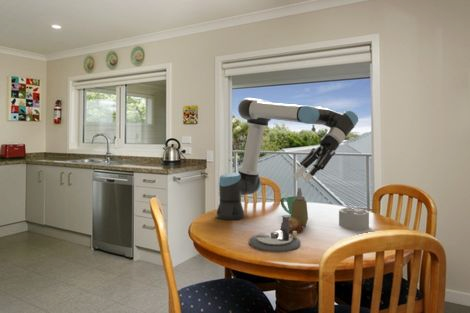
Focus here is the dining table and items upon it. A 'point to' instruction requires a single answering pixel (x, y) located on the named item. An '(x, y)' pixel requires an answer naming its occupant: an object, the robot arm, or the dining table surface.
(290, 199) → the mug
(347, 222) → the lumpy-topped squat cylinder
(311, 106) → the robot arm
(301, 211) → the squeeze bottle
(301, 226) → the bread roll
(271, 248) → the base pad
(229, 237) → the dining table surface
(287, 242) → the flange plate
